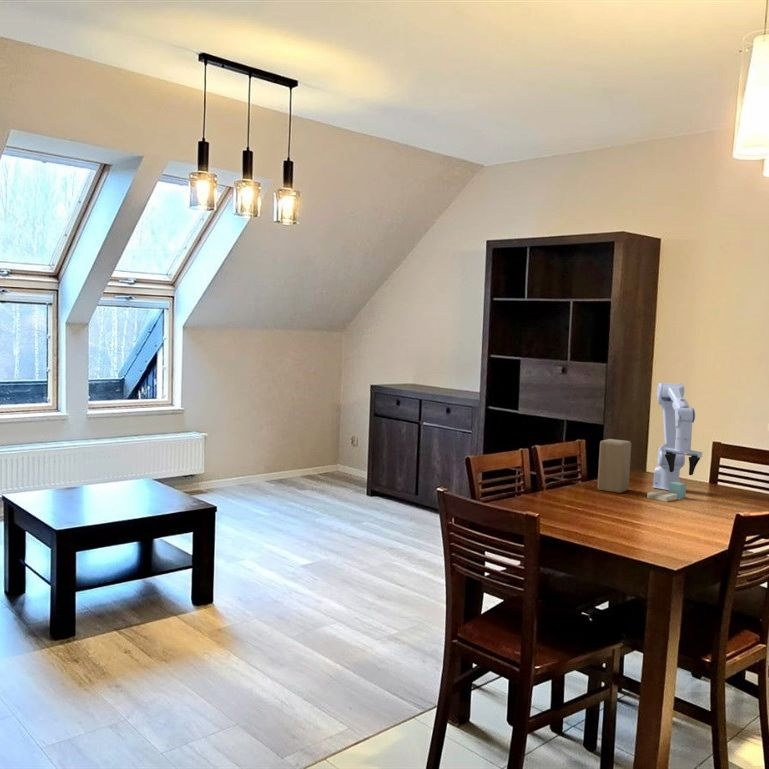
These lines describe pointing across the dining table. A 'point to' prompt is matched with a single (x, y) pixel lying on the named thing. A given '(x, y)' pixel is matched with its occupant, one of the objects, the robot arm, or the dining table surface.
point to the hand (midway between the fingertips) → (681, 473)
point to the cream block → (662, 496)
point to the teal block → (678, 489)
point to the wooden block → (614, 465)
